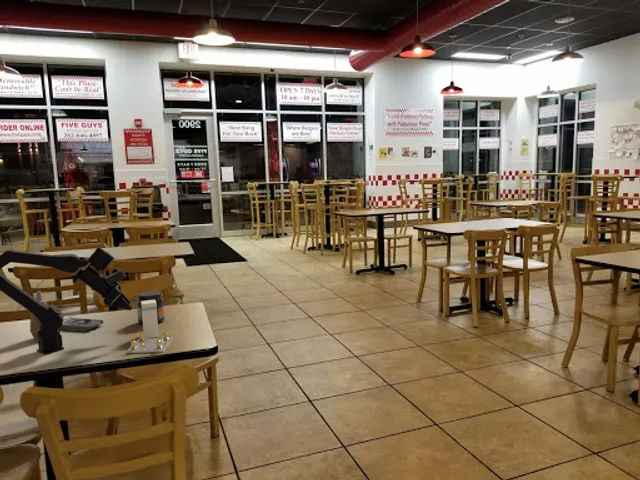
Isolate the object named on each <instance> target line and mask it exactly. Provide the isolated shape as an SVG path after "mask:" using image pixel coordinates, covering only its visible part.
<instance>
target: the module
mask: <svg viewBox="0 0 640 480" xmlns="http://www.w3.org/2000/svg"><path fill="white" fill-rule="evenodd" d="M141 309H142V322H143V325H142V333H144V339H151V338H160V337H159V336H160V334H159V333H160V332H159V323H158V319H157V305H156V301H155V300H148V301H141Z"/></svg>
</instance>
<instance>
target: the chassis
mask: <svg viewBox="0 0 640 480" xmlns="http://www.w3.org/2000/svg"><path fill="white" fill-rule="evenodd" d="M138 334H139V335H138V336H139V337H138V338H137V340H131V341H130V347H129V348H128V349H127V350H126V354H147V353H164V351H165V350H166V349H167V348H168V347H169V345H170V344H171V343H172V342H173V337H169V332H168V331H164V332H163V333H162V335H163V337H154V338H147V339H144V333H143V332H140V333H138Z"/></svg>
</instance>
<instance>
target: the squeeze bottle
mask: <svg viewBox="0 0 640 480" xmlns="http://www.w3.org/2000/svg"><path fill="white" fill-rule="evenodd" d="M35 295H36V296H35V299H36V300H38V301H39V302H41V303H42V304H44V305H47V306H50V304H48V301H47V299H44V298H43V294H42V292H41V290H38V291H36V294H35ZM29 313H30V314H29V315H30V316H29V317H30V318H29V319H30V321H29V324H30V325H29V332H30V335H32V337H33V339H34V340H35V341H38V337H37V335H38V333H37V332H38V330H39V327H40V325H41V323H40V321H39V320H38V319H37V317H36V316H35V315H34V314H33V313H32V312H30V311H29Z"/></svg>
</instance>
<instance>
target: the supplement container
mask: <svg viewBox="0 0 640 480" xmlns="http://www.w3.org/2000/svg"><path fill="white" fill-rule="evenodd" d="M136 297H137V301H136V310H137V323H138V324H139V325H141V326H143V322H142V309H141V301H148V300H155V301H156V305H157V319H158V324H161V323H163V322H164V321H165V319H166V317H165V306H164V304H165V303H164V302H165V301H164V300H165V299H163V298H162V297H163V292H162V291H159V290H148V291H142V292H139V293H138V294H137V296H136Z"/></svg>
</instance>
